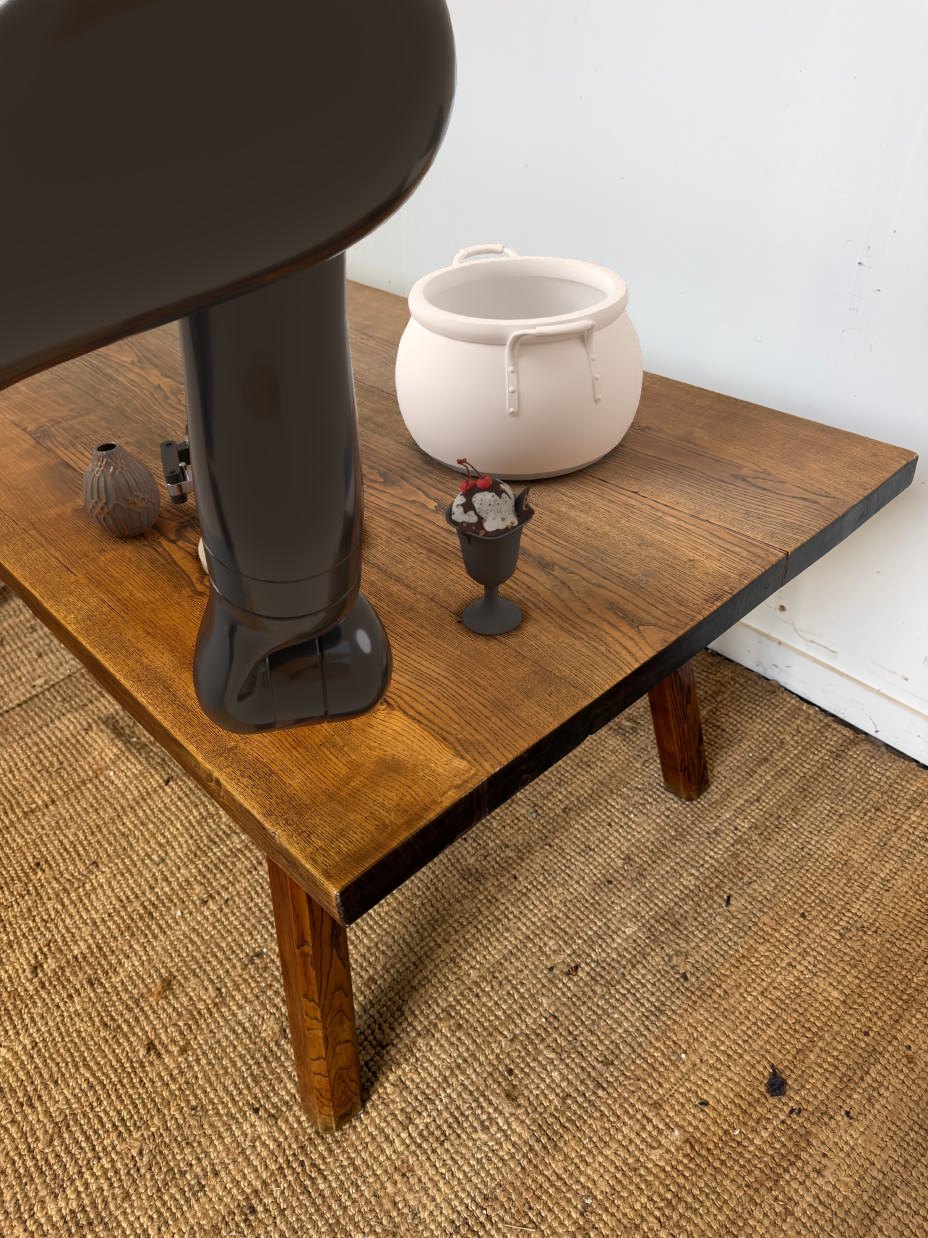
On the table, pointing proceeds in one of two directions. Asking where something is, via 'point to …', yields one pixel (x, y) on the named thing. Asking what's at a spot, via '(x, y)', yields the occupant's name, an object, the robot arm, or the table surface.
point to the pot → (518, 364)
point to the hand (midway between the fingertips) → (252, 418)
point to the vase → (120, 491)
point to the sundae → (489, 546)
